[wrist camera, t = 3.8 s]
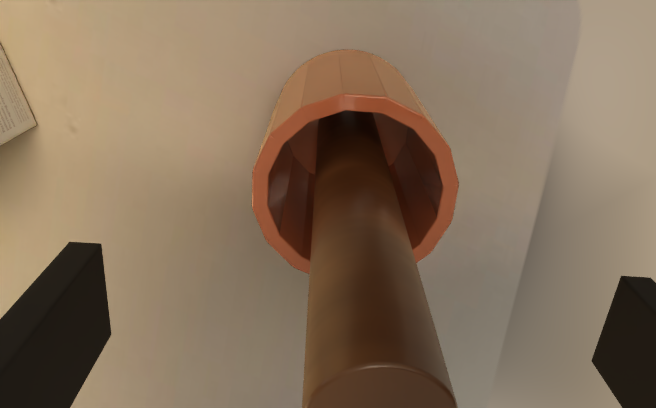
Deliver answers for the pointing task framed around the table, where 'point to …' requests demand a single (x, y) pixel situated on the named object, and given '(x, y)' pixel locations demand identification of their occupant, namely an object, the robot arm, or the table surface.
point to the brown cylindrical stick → (365, 284)
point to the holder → (396, 137)
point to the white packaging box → (12, 104)
